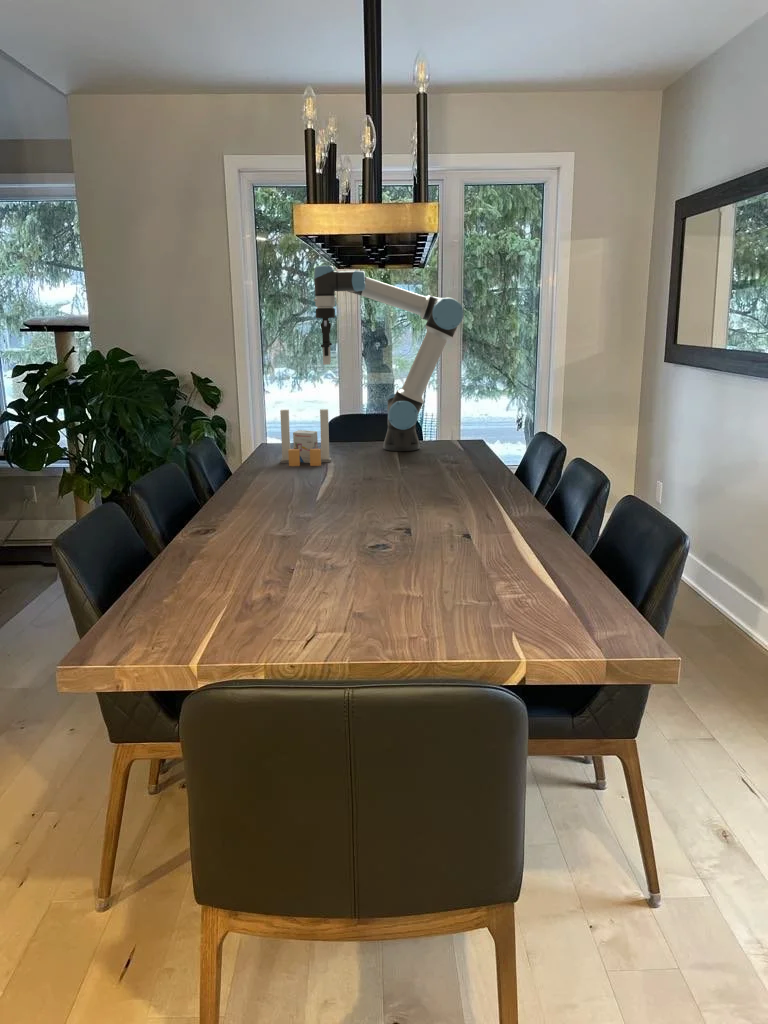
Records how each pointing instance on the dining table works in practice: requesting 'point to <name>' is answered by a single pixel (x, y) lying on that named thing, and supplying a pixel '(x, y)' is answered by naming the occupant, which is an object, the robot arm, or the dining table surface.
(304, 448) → the ink box
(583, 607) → the dining table surface
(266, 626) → the dining table surface
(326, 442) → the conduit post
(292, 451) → the paddle
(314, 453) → the paddle
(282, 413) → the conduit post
